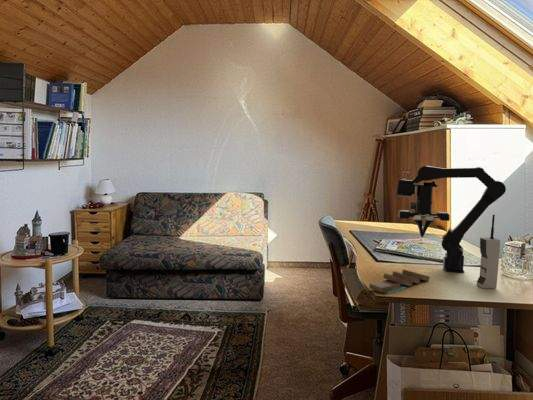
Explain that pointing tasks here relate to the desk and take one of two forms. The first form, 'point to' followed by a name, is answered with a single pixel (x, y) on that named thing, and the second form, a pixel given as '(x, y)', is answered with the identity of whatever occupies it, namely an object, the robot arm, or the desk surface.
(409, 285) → the domino
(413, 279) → the domino
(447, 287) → the desk surface
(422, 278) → the domino
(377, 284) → the domino
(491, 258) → the vintage mobile phone
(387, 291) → the domino
